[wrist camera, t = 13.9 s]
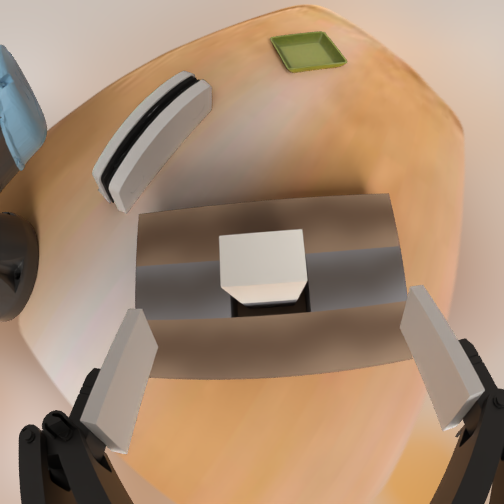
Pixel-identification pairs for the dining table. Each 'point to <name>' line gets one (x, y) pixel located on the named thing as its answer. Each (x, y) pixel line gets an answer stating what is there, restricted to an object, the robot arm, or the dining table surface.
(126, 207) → the grey curved slotted block
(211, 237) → the post foot
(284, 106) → the dining table surface
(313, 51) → the olive green shallow tray
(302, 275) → the rail end
